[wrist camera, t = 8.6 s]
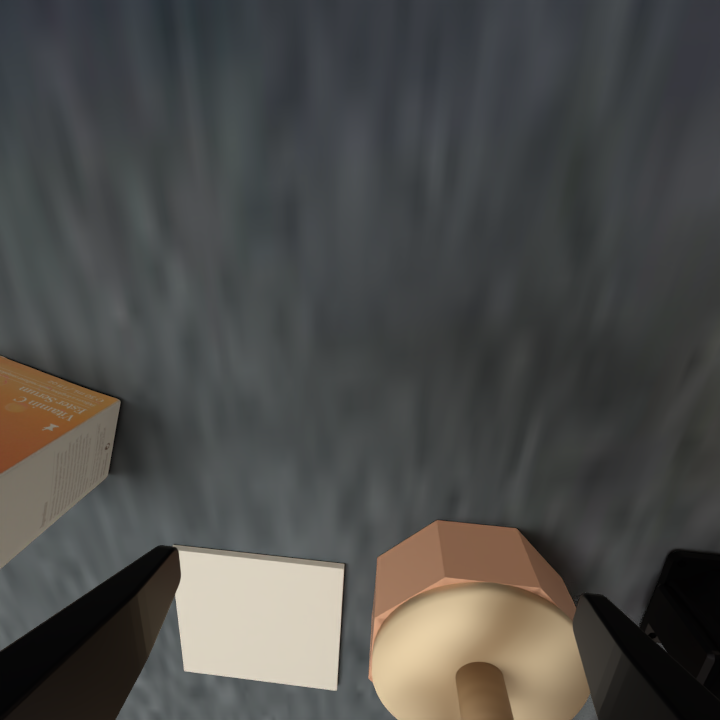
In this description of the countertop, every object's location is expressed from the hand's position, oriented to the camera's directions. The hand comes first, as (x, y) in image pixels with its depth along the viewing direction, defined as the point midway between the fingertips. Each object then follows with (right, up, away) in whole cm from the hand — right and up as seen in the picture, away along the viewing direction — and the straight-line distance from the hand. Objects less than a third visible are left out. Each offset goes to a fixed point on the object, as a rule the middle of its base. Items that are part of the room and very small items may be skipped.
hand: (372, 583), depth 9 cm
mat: (-7, -12, +18) cm, 23 cm away
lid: (+6, -11, +12) cm, 17 cm away
